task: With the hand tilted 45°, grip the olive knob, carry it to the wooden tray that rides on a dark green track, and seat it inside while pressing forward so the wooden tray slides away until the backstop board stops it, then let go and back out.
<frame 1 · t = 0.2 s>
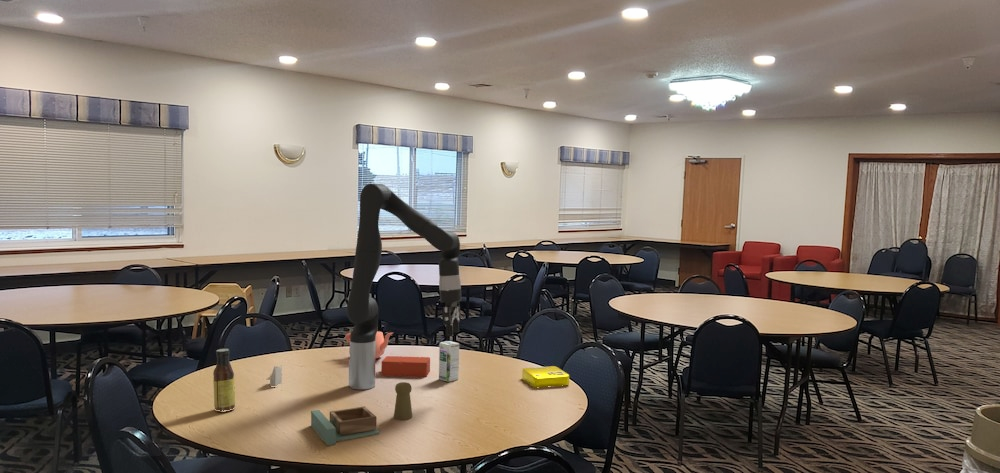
hand: (453, 334, 227), 23 cm above the table, tool pointing down, fingers open, 8 cm apart
brick: (406, 374, 259), on the table
olive knob: (403, 417, 207), on the table
track and backstop: (352, 429, 195), on the table
architectural model: (275, 387, 239), on the table
sauce bottle: (224, 410, 210), on the table
wooden tray: (352, 420, 195), point 3 cm above the table, slide at 0.0 cm
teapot: (369, 359, 280), on the table
element tile: (545, 383, 250), on the table
syrup box: (448, 379, 251), on the table
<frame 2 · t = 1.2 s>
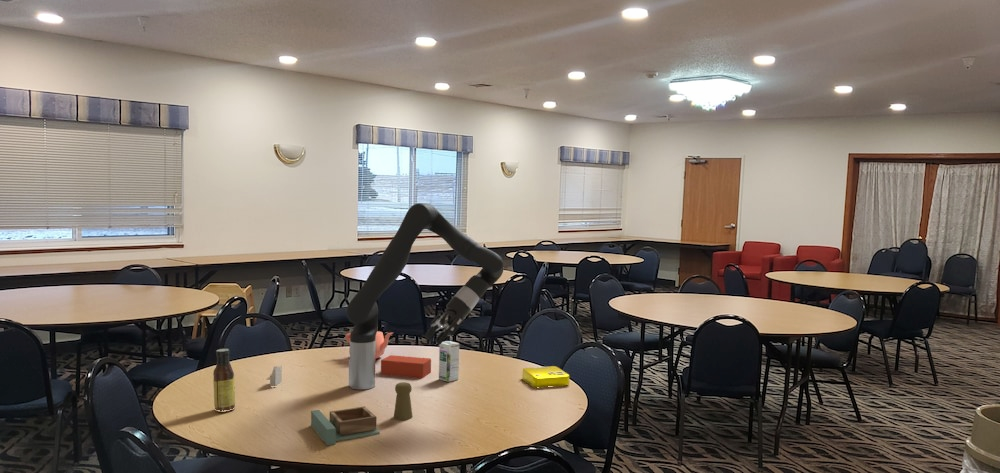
hand: (431, 340, 212), 24 cm above the table, tool tilted 45°, fingers open, 8 cm apart
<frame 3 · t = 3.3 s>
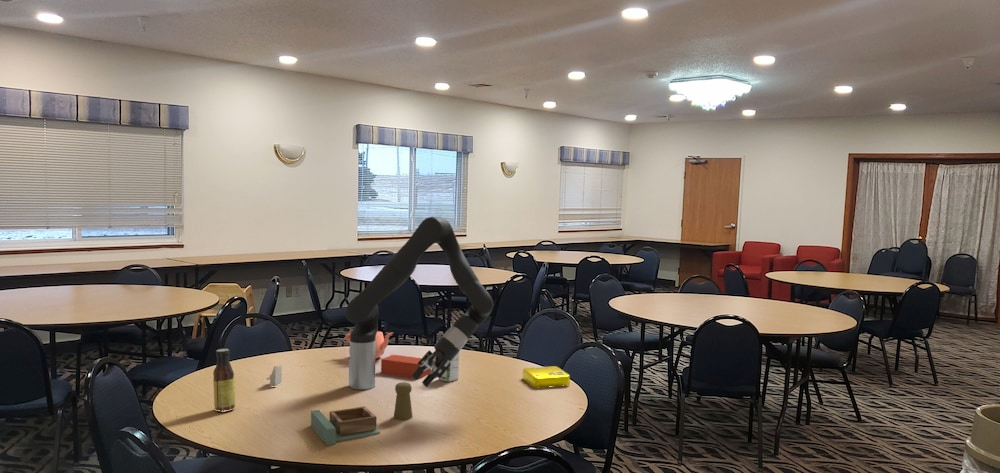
hand: (419, 381, 209), 11 cm above the table, tool tilted 45°, fingers open, 8 cm apart
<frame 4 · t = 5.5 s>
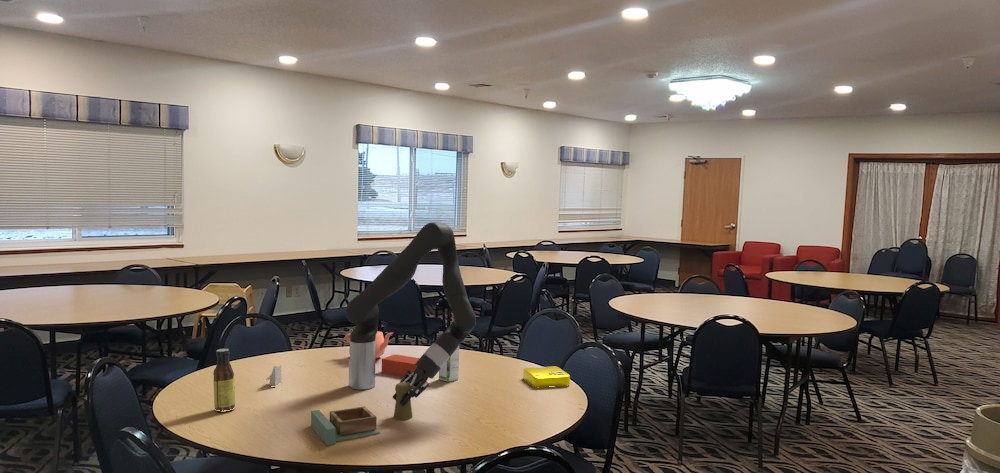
hand: (397, 401, 206), 5 cm above the table, tool tilted 45°, fingers closed on olive knob, 5 cm apart
olive knob: (403, 417, 207), on the table, touching gripper
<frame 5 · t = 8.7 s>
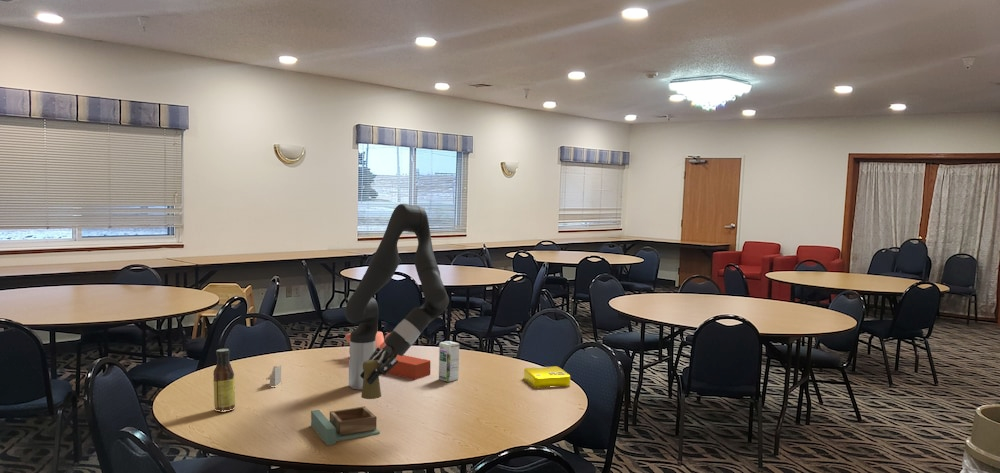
hand: (365, 380, 196), 15 cm above the table, tool tilted 45°, fingers closed on olive knob, 5 cm apart
olive knob: (371, 396, 197), point 9 cm above the table, touching gripper
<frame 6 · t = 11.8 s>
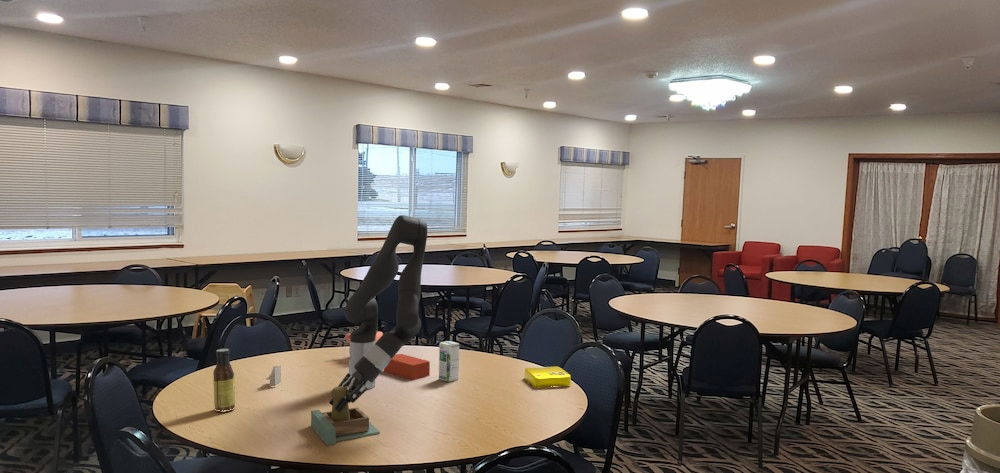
hand: (334, 407, 192), 8 cm above the table, tool tilted 45°, fingers closed on olive knob, 5 cm apart
olive knob: (340, 424, 193), point 2 cm above the table, touching wooden tray, gripper
wooden tray: (345, 421, 194), point 3 cm above the table, slide at 2.3 cm, touching olive knob, track and backstop
when the fingers open (8 cm above the table, at t = 12.1 s): olive knob stays where it is, resting on wooden tray.
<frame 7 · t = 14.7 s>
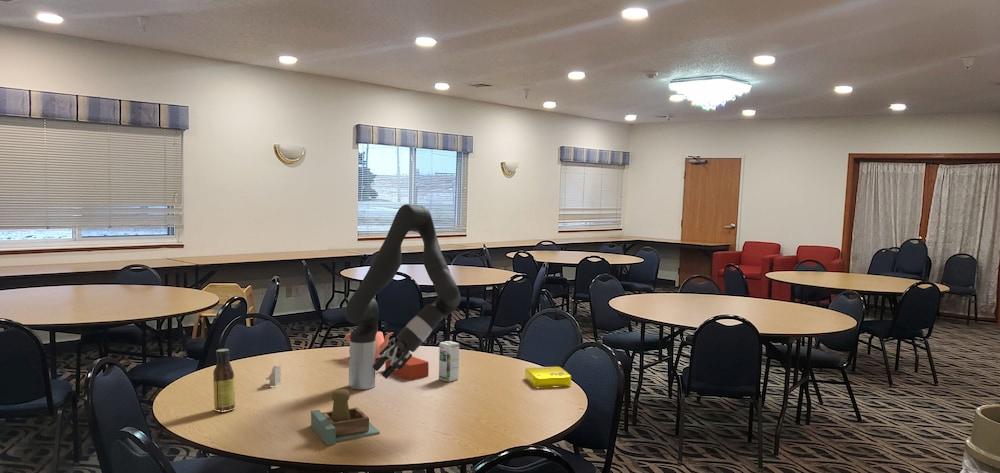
hand: (378, 372, 200), 16 cm above the table, tool tilted 45°, fingers open, 8 cm apart
olive knob: (340, 426, 193), point 2 cm above the table, touching wooden tray
wooden tray: (345, 421, 194), point 3 cm above the table, slide at 2.3 cm, touching olive knob
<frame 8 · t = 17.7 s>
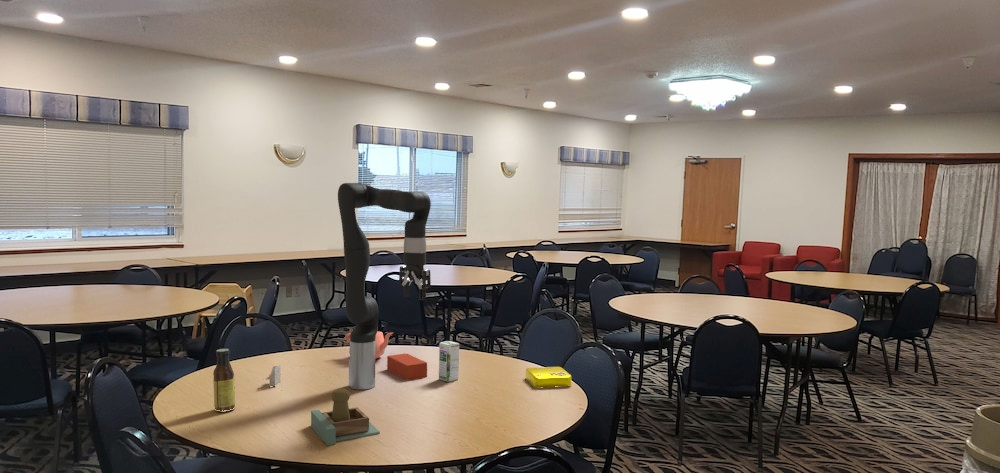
hand: (414, 298, 219), 36 cm above the table, tool pointing down, fingers open, 8 cm apart
at the end: olive knob inside the target area on the wooden tray (1.5 cm from its centre), point 1.5 cm above the wooden tray's base; olive knob tilted 0°; wooden tray slide at 2.3 cm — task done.
